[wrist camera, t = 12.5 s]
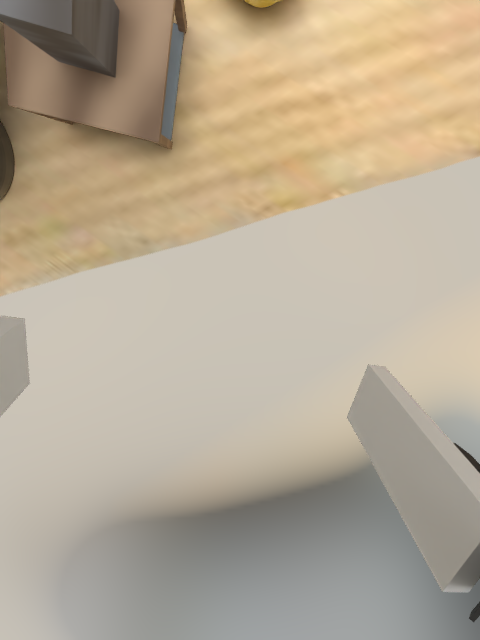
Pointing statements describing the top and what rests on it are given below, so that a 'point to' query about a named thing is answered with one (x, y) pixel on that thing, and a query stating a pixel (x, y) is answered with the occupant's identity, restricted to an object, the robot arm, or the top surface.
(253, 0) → the plant pot
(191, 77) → the top surface
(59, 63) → the brown legged piece
